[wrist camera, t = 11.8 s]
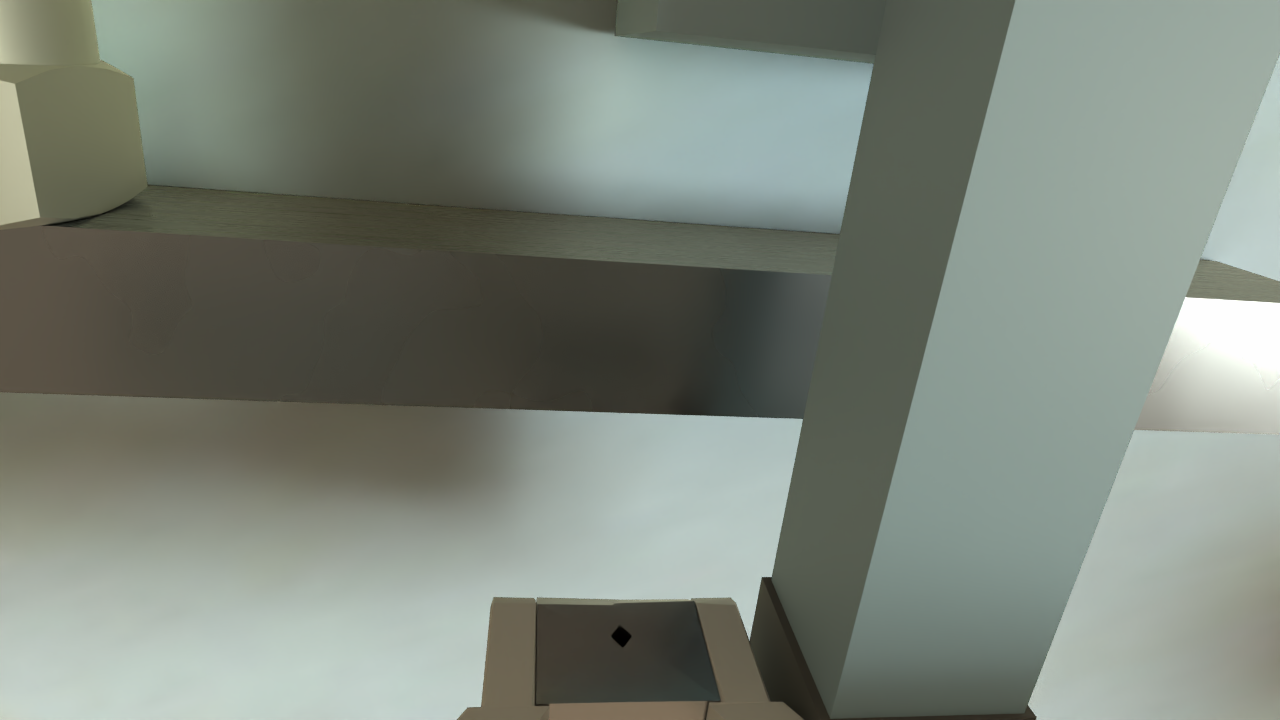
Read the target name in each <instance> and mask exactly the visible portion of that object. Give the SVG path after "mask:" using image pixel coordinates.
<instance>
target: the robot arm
mask: <svg viewBox="0 0 1280 720" xmlns="http://www.w3.org/2000/svg"><path fill="white" fill-rule="evenodd" d="M457 720H804V719H803V718H802V717H800V716H799V715H798V714H797V713H796V712H795V711H793V710H792V709H791V708H790V707H789V706H787V705H786V704H785V703H784V702H771V701H770V699H769V696H768V693H767V690H766V687H765V684H764V681H763V679H762V676H761V673H760V670H759V667H758V664H757V661H756V659H755V656H754V653H753V650H752V647H751V644H750V641H749V639H748V636H747V633H746V630H745V627H744V624H743V622H742V619H741V616H740V613H739V610H738V607H737V604H736V602H734V601H733V600H732V599H731V598H692V599H691V600H689V599H652V600H615V599H577V598H538V597H537V600H535V599H534V598H508V597H493V601H492V604H491V609H490V620H489V630H488V641H487V651H486V661H485V672H484V682H483V693H482V703H481V707H469V708H467V709H466V710H465V711H464V712H463V713H462V714H461V715H460V717H459V718H458V719H457Z"/></svg>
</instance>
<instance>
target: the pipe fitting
mask: <svg viewBox="0 0 1280 720" xmlns="http://www.w3.org/2000/svg"><path fill="white" fill-rule="evenodd" d="M147 187H148V185H147V177H146V170H145V162H144V155H143V147H142V139H141V132H140V124H139V117H138V109H137V102H136V94H135V87H134V79H133V78H132V77H131V76H129V75H127V74H126V73H124V72H122V71H121V70H119V69H117V68H115V67H113V66H112V65H110V64H108V63H106V62H104V61H102V60H100V56H99V50H98V43H97V36H96V29H95V22H94V15H93V9H92V2H91V0H0V230H4V229H14V228H24V227H33V226H40V225H48V224H55V223H61V222H67V221H72V220H77V219H82V218H87V217H91V216H94V215H98V214H102V213H104V212H107V211H110V210H112V209H114V208H116V207H118V206H120V205H122V204H124V203H126V202H127V201H129V200H130V199H132V198H133V197H135V196H136V195H138V194H139V193H140V192H141V191H143V190H144V189H145V188H147Z"/></svg>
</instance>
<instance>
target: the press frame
mask: <svg viewBox="0 0 1280 720" xmlns="http://www.w3.org/2000/svg"><path fill="white" fill-rule="evenodd" d="M839 237H840V234H827V233H813V232H799V231H785V230H771V229H757V228H743V227H729V226H715V225H701V224H687V223H673V222H659V221H645V220H631V219H617V218H602V217H588V216H574V215H560V214H546V213H532V212H518V211H504V210H490V209H476V208H462V207H448V206H434V205H420V204H406V203H392V202H378V201H364V200H350V199H336V198H322V197H308V196H294V195H280V194H265V193H251V192H237V191H223V190H209V189H195V188H181V187H167V186H153V185H148V187H147V188H145V189H144V190H143V191H141V192H140V193H139V194H138V195H136V196H135V197H133V198H132V199H130V200H129V201H127V202H126V203H124V204H122V205H120V206H118V207H116V208H114V209H112V210H110V211H107V212H104V213H102V214H98V215H94V216H91V217H87V218H82V219H77V220H72V221H67V222H61V223H55V224H48V225H40V226H33V227H24V228H14V229H4V230H0V392H13V393H43V394H73V395H103V396H133V397H163V398H193V399H224V400H254V401H284V402H314V403H344V404H374V405H404V406H434V407H465V408H495V409H525V410H555V411H585V412H615V413H645V414H675V415H706V416H736V417H766V418H796V419H803V418H804V413H805V408H806V403H807V398H808V393H809V388H810V383H811V378H812V373H813V368H814V362H815V357H816V352H817V347H818V342H819V337H820V332H821V327H822V322H823V317H824V312H825V307H826V302H827V297H828V292H829V287H830V282H831V277H832V272H833V267H834V262H835V257H836V252H837V247H838V242H839ZM1134 430H1157V431H1187V432H1218V433H1248V434H1278V435H1280V281H1276V280H1273V279H1270V278H1267V277H1264V276H1261V275H1258V274H1255V273H1252V272H1248V271H1245V270H1242V269H1239V268H1236V267H1233V266H1230V265H1227V264H1224V263H1220V262H1217V261H1206V260H1200V261H1199V264H1198V266H1197V269H1196V271H1195V274H1194V276H1193V279H1192V282H1191V284H1190V287H1189V289H1188V292H1187V294H1186V297H1185V300H1184V302H1183V305H1182V307H1181V310H1180V313H1179V315H1178V318H1177V320H1176V323H1175V325H1174V328H1173V331H1172V333H1171V336H1170V338H1169V341H1168V344H1167V346H1166V349H1165V351H1164V354H1163V356H1162V359H1161V362H1160V364H1159V367H1158V369H1157V372H1156V374H1155V377H1154V380H1153V382H1152V385H1151V387H1150V390H1149V393H1148V395H1147V398H1146V400H1145V403H1144V405H1143V408H1142V411H1141V413H1140V416H1139V418H1138V421H1137V424H1136V426H1135V429H1134Z"/></svg>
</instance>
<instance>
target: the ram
mask: <svg viewBox="0 0 1280 720" xmlns="http://www.w3.org/2000/svg"><path fill="white" fill-rule="evenodd" d="M615 36H620V37H629V38H639V39H648V40H657V41H667V42H676V43H685V44H695V45H704V46H713V47H723V48H732V49H742V50H751V51H760V52H770V53H779V54H788V55H798V56H807V57H816V58H826V59H835V60H844V61H854V62H863V63H872V64H874V66H873V71H872V76H871V81H870V86H869V91H868V96H867V101H866V106H865V111H864V116H863V121H862V126H861V131H860V136H859V141H858V146H857V151H856V156H855V161H854V167H853V172H852V177H851V182H850V187H849V192H848V197H847V202H846V207H845V212H844V217H843V222H842V227H841V232H840V237H839V242H838V247H837V252H836V257H835V262H834V267H833V272H832V277H831V282H830V287H829V292H828V297H827V302H826V307H825V312H824V317H823V322H822V327H821V332H820V337H819V342H818V347H817V352H816V357H815V362H814V368H813V373H812V378H811V383H810V388H809V393H808V398H807V403H806V408H805V413H804V418H803V423H802V428H801V433H800V438H799V443H798V448H797V453H796V458H795V463H794V468H793V473H792V478H791V483H790V488H789V493H788V498H787V503H786V508H785V513H784V518H783V523H782V528H781V533H780V538H779V543H778V548H777V553H776V558H775V564H774V569H773V574H772V577H762V580H761V585H760V590H759V595H758V600H757V606H756V611H755V616H754V621H753V626H752V631H751V637H750V644H751V647H752V650H753V653H754V656H755V659H756V661H757V664H758V667H759V670H760V673H761V676H762V679H763V681H764V684H765V687H766V690H767V693H768V696H769V699H770V701H771V702H784V703H785V704H786V705H787V706H789V707H790V708H791V709H792V710H793V711H795V712H796V713H797V714H798V715H799V716H800V717H802V718H803V719H804V720H1036V716H1035V715H1034V713H1033V712H1032V710H1031V709H1030V708H1029V706H1028V702H1029V700H1030V697H1031V695H1032V692H1033V689H1034V687H1035V684H1036V682H1037V679H1038V676H1039V674H1040V671H1041V669H1042V666H1043V664H1044V661H1045V658H1046V656H1047V653H1048V651H1049V648H1050V646H1051V643H1052V640H1053V638H1054V635H1055V633H1056V630H1057V627H1058V625H1059V622H1060V620H1061V617H1062V615H1063V612H1064V609H1065V607H1066V604H1067V602H1068V599H1069V596H1070V594H1071V591H1072V589H1073V586H1074V584H1075V581H1076V578H1077V576H1078V573H1079V571H1080V568H1081V565H1082V563H1083V560H1084V558H1085V555H1086V553H1087V550H1088V547H1089V545H1090V542H1091V540H1092V537H1093V535H1094V532H1095V529H1096V527H1097V524H1098V522H1099V519H1100V516H1101V514H1102V511H1103V509H1104V506H1105V504H1106V501H1107V498H1108V496H1109V493H1110V491H1111V488H1112V485H1113V483H1114V480H1115V478H1116V475H1117V473H1118V470H1119V467H1120V465H1121V462H1122V460H1123V457H1124V455H1125V452H1126V449H1127V447H1128V444H1129V442H1130V439H1131V436H1132V434H1133V431H1134V429H1135V426H1136V424H1137V421H1138V418H1139V416H1140V413H1141V411H1142V408H1143V405H1144V403H1145V400H1146V398H1147V395H1148V393H1149V390H1150V387H1151V385H1152V382H1153V380H1154V377H1155V374H1156V372H1157V369H1158V367H1159V364H1160V362H1161V359H1162V356H1163V354H1164V351H1165V349H1166V346H1167V344H1168V341H1169V338H1170V336H1171V333H1172V331H1173V328H1174V325H1175V323H1176V320H1177V318H1178V315H1179V313H1180V310H1181V307H1182V305H1183V302H1184V300H1185V297H1186V294H1187V292H1188V289H1189V287H1190V284H1191V282H1192V279H1193V276H1194V274H1195V271H1196V269H1197V266H1198V264H1199V261H1200V258H1201V256H1202V253H1203V251H1204V248H1205V245H1206V243H1207V240H1208V238H1209V235H1210V233H1211V230H1212V227H1213V225H1214V222H1215V220H1216V217H1217V214H1218V212H1219V209H1220V207H1221V204H1222V202H1223V199H1224V196H1225V194H1226V191H1227V189H1228V186H1229V183H1230V181H1231V178H1232V176H1233V173H1234V171H1235V168H1236V165H1237V163H1238V160H1239V158H1240V155H1241V153H1242V150H1243V147H1244V145H1245V142H1246V140H1247V137H1248V134H1249V132H1250V129H1251V127H1252V124H1253V122H1254V119H1255V116H1256V114H1257V111H1258V109H1259V106H1260V103H1261V101H1262V98H1263V96H1264V93H1265V91H1266V88H1267V85H1268V83H1269V80H1270V78H1271V75H1272V73H1273V70H1274V67H1275V65H1276V62H1277V60H1278V57H1279V54H1280V0H618V3H617V16H616V29H615Z"/></svg>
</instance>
